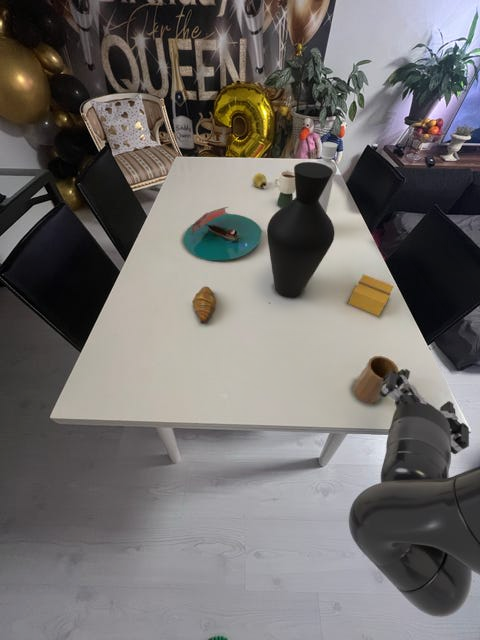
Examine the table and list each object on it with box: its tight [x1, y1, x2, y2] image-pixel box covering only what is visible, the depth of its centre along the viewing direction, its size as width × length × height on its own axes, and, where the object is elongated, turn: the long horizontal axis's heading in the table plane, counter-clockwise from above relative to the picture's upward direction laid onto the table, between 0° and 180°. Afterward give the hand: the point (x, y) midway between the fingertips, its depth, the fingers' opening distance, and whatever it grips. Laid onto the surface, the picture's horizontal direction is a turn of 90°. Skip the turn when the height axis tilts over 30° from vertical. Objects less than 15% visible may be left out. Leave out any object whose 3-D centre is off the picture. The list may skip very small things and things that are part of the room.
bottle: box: [315, 141, 338, 213], centre depth 101 cm, size 9×9×30 cm
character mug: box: [273, 170, 296, 209], centre depth 120 cm, size 11×7×13 cm, turn 81°
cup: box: [352, 355, 400, 405], centre depth 65 cm, size 6×6×10 cm
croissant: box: [191, 286, 217, 324], centre depth 83 cm, size 14×7×5 cm, turn 1°
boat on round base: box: [182, 206, 263, 261], centre depth 104 cm, size 28×28×11 cm
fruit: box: [252, 172, 268, 190], centre depth 134 cm, size 6×6×10 cm
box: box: [348, 273, 395, 317], centre depth 87 cm, size 9×9×5 cm
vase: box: [266, 161, 335, 299], centre depth 78 cm, size 17×17×35 cm
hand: (425, 388), depth 55 cm, fingers open, 8 cm apart
